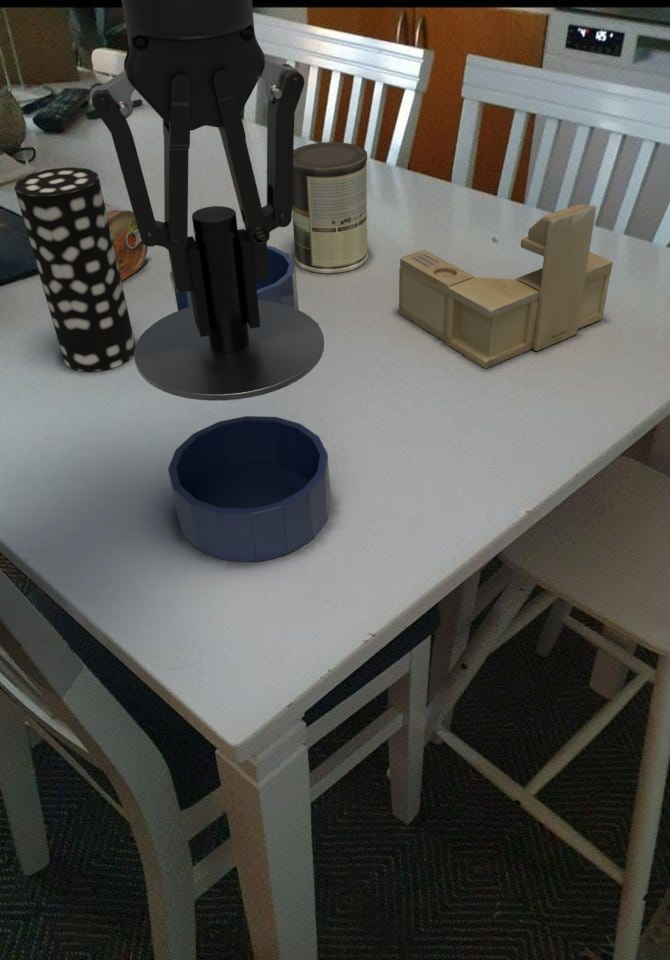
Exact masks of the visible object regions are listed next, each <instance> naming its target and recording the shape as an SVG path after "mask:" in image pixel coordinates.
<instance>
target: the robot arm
mask: <svg viewBox="0 0 670 960" xmlns="http://www.w3.org/2000/svg"><path fill="white" fill-rule="evenodd" d="M121 3H122V4H121V6H122V10H123V11H122V12H123V17H124V24H125V30H126V35H127V50H126V51H127V52H126V55H125V58H124V60H123V61H124V62H123V69H124V70H122V72H119V74H117V75H115V76H114V77H112V78H111V79H109V80H108V81H106V82H104V83H102V82H95V83H93V84H92V85H91V86H90V89H89V97H90V100H91V104H92V106H93V110H95V112H96V113H97V115H98V117H99V118H100V119H101V121H102V123H104V126H106V128H107V129H108V131H109V133H110V134H111V135H110V136H111V138H112V142H113V145H114V146H113V147H114V149H115V153H116V156H117V160H118V164H119V168H120V171H121V174H122V178H123V181H124V185H125V188H126V191H127V195H128V199H129V202H130V206H131V209H132V210H131V211H132V212H133V213H134V217H135V220H136V224H137V228H138V231H139V234H140V237H141V240H142V242H143V244H145V245H146V246H148V247H149V248H151V247H155V246H158V247H162V248H165V249H166V250H167V251H168V256H169V262H170V269H171V271H172V276H173V280H174V283H175V286H176V288H177V289H178V291H179V293H184V292H191V299H192V305H193V312H194V319H195V322H196V325H197V328H198V330H199V333H200V336H201V337H204V336H210V335H211V331H210V324H209V317H208V309H207V302H206V295H205V288H204V280H203V273H202V266H201V259H200V251H199V249H198V247H197V245H196V242H195V237H194V236H193V235H191V236H189V234H188V232H189V228H188V227H189V226H188V225H189V152H190V151H189V150H190V146H191V131H195V130H197V129H201V128H202V127H205V126H206V127H211V128H212V127H213V128H217V129H218V132H219V134H220V139H221V142H222V146H223V150H224V153H225V157H226V162H227V165H228V168H229V172H230V176H231V180H232V184H233V188H234V192H235V196H236V200H237V204H238V207H239V211H240V216H241V219H242V222H243V225H244V228H239V229H238V238H239V248H240V258H241V267H242V277H243V286H244V296H245V305H246V315H247V322H248V325H249V327H250V329H251V328H257V327H260V318H259V308H258V297H257V287H256V281H258V280H264V279H267V278H268V275H269V265H268V264H269V263H268V251H267V246H268V242H269V239H270V238H271V235H270V234H271V232H273V231H274V230H276V229H278V228H287V227H288V226H289V225H290V224H291V222H292V220H293V216H292V189H293V151H294V149H295V148H294V146H295V144H294V143H295V113H296V111H297V108H298V104H299V101H300V98H301V96H302V93H303V90H304V87H305V82H306V81H305V77H304V76H303V75H302V73H300V72H299V71H298V70H297V69H296V68H294V66H292V65H291V64H290V63H289V64H288V63H283V64H279V63H277V62H274V61H272V60H270V59H268V58H266V57H265V53H264V51H263V49H262V48H261V46H260V45H259V42H258V40H257V36H256V32H255V22H254V9H253V7H254V6H253V0H121ZM260 78H261V80H262V91H263V94H264V95H265V96H266V98H268V101H267V109H266V110H267V111H266V114H267V115H266V124H267V125H266V205H264V206H262V202H261V198H260V194H259V189H258V186H257V181H256V178H255V173H254V169H253V165H252V160H251V156H250V152H249V148H248V143H247V136H246V130H245V127H244V122H243V118H242V112H243V110H244V108H245V106H246V105H247V103H248V101H249V99H250V97H251V96H252V93H253V91H254V89H255V87H256V85H257V84H258V82H259V80H260ZM134 91H136V92H137V93H138V94H139V95H140V96H141V97H142V98H143V100H144V101H145V102H146V103H147V104H148V105H149V106H150V107H151V109H153V110H154V112H155V113H156V114H157V115H158V116H159V117H160V118H161V119H162V133H163V165H164V166H163V177H164V178H163V185H164V186H163V187H164V188H163V190H164V194H163V195H164V196H163V197H164V201H163V202H164V206H163V208H164V210H163V211H164V216H163V217H164V221H160V220H156V219H155V215H154V211H153V208H152V203H151V199H150V197H149V192H148V189H147V184H146V181H145V178H144V172H143V169H142V165H141V162H140V158H139V153H138V151H137V146H136V143H135V138H134V136H133V132H132V130H131V128H130V124H129V122H128V118H129V117H130V116H132V114H133V111H134V106H133V103H132V99H131V98H132V94H133V93H134Z"/></svg>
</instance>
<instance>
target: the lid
mask: <svg viewBox="0 0 670 960" xmlns="http://www.w3.org/2000/svg"><path fill="white" fill-rule="evenodd" d="M191 221H192V227H193V235H194V240H195V242H196V245H197V247H198V249H199V251H200V259H201V266H202V273H203V280H204V288H205V295H206V302H207V309H208V317H209V324H210V331H211V335H210V336H204V337H201V336H200V333H199V330H198V328H197V325H196V322H195V319H194V312H193V306H191V307H188V308H185V309H182V310H179V311H177V312H176V311H175V312H172V313H170V314H168V315H166V316H163V317H162V318H160V319H159V320H157V321H155V322H154V323H152V325H150V326H149V327H147V328H146V330H144V332H143V333H142V334H141V335H140V337H139V338H138V339H137V342H136V343H135V351H134V355H133V357H134V364H135V367H136V369H137V372H138V373H139V374H140V376H141V377H142V379H143V380H145V381H146V382H147V383H148V384H149V385H151V386H152V387H154V388H155V389H158V390H160V391H162V392H164V393H167V394H169V395H173V396H176V397H180V398H185V399H190V400H196V401H208V402H209V401H211V402H213V401H217V402H219V401H221V402H222V401H223V402H224V401H225V402H226V401H236V400H237V401H238V400H243V399H251V398H255V397H259V396H263V395H266V394H270V393H273V392H276V391H279V390H282V389H284V388H286V387H288V386H291V385H292V384H294V383H296V382H298V381H300V380H301V379H303V378H304V377H305V376H307V375H308V374H309V373H310V372H312V370H313V369H314V368H315V367H316V366H317V365H318V363H319V362H320V360H321V358H322V356H323V354H324V351H325V338H324V333H323V331H322V328H321V327H320V325H319V324H318V323H317V322H316V321H315V320H314V319H313V318H312V317H311V316H310V315H308V314H307V313H306V312H304V311H302V310H300V309H299V310H297V309H295V308H292V307H290V306H287V305H283V304H280V303H275V302H270V301H263V300H258V308H259V318H260V327H257V328H251V329H250V327H249V325H248V322H247V315H246V305H245V296H244V286H243V277H242V267H241V258H240V248H239V238H238V230H239V229H238V220H237V212H236V210H235V209H234V208H231V207H229V206H224V205H223V206H222V205H213V206H206V207H202V208H199V209H197V210H195V211H194V212H192V214H191Z"/></svg>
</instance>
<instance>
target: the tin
mask: <svg viewBox="0 0 670 960" xmlns="http://www.w3.org/2000/svg"><path fill="white" fill-rule="evenodd" d="M106 213H107V218H108V222H109V227H110V231H111V236H112V240H113V245H114V250H115V254H116V259H117V263H118V268H119V272H120V277H121V282H122V283H123V281H125V280H126V279H128V278H130V277H131V276H132V275H134V274H135V273H136V272H138V271H139V270H140V269H141V267H142V266H143V265H144V263H145V261H146V258H147V254H148V250H149V249H148V246H146V245H145V244H143V242H142V240H141V237H140V234H139V231H138V228H137V224H136V220H135V217H134V213H133V211H132V210H117V209H115V210H109V211H106Z"/></svg>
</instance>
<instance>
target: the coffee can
mask: <svg viewBox="0 0 670 960" xmlns="http://www.w3.org/2000/svg"><path fill="white" fill-rule="evenodd" d="M367 161H368V152H367V150H366V149H365V148H363V147H361V146H359V145H357V144H354V143H349V142H340V141H325V142H324V141H323V142H322V141H321V142H314V143H309V144H305V145H302V146H299V147H297V148H294V151H293V189H292V227H293V228H292V230H293V242H294V262H295V264H296V265H297V266H298V267H299V268H301V269H303V270H305V271H308V272H311V273H317V274H325V275H326V274H327V275H328V274H341V273H345V272H350V271H353V270H356V269H358V268H359V267H361V266H362V265H364V264H365V263H366V262H367V260H368V258H369V254H368V208H367V205H368V200H367V199H368V193H367V192H368V191H367V190H368V187H367V186H368V185H367V183H368V180H367V178H368V177H367Z"/></svg>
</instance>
